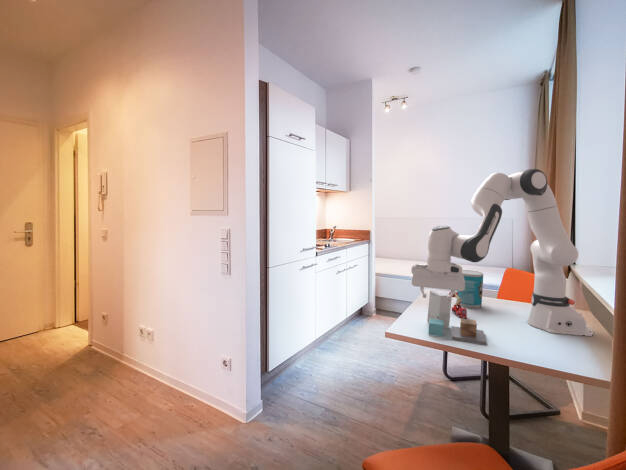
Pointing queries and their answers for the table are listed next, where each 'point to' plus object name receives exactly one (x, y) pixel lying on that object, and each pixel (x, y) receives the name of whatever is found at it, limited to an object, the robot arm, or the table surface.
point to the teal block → (436, 327)
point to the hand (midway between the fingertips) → (436, 298)
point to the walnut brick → (468, 327)
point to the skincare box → (439, 307)
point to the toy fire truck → (458, 310)
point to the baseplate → (478, 339)
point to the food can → (472, 289)
